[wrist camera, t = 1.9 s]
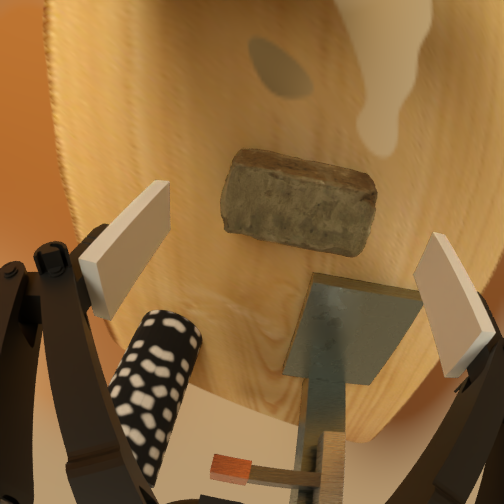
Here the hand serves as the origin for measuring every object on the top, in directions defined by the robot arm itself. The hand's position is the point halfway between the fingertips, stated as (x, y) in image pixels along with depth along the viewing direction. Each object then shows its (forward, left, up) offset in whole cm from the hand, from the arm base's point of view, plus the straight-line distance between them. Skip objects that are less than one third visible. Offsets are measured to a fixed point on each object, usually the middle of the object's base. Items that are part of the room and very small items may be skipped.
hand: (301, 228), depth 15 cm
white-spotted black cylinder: (+25, -12, -12) cm, 30 cm away
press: (+21, +9, -11) cm, 26 cm away
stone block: (+3, 0, -12) cm, 12 cm away
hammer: (+25, +4, -1) cm, 25 cm away
